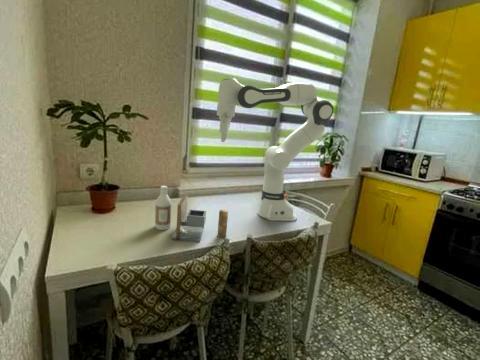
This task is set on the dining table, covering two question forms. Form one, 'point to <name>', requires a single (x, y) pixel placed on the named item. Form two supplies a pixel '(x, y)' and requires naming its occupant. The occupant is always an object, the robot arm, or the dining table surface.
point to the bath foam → (163, 210)
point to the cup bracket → (189, 223)
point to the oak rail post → (222, 223)
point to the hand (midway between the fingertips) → (223, 140)
